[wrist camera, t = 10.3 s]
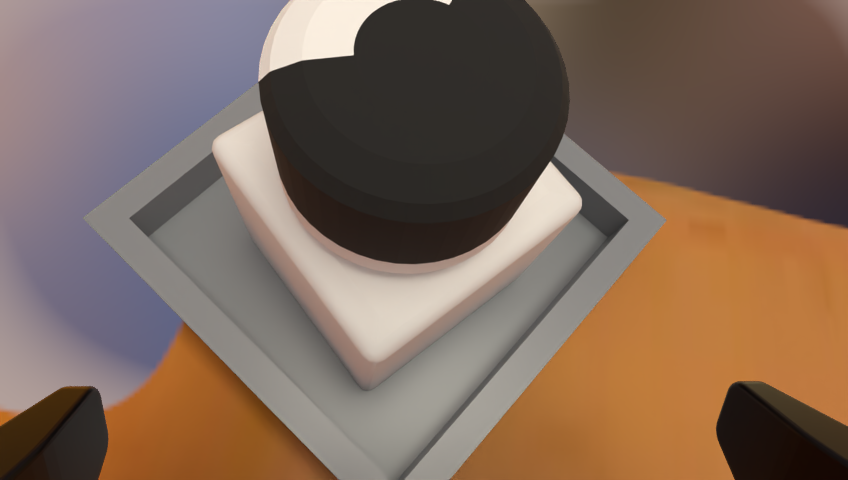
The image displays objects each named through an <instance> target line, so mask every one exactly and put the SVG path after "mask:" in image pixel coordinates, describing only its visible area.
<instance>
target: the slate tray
mask: <svg viewBox="0 0 848 480" xmlns="http://www.w3.org/2000/svg"><path fill="white" fill-rule="evenodd" d="M261 111H263V109H262V105H261V102H260V92H259V83H257V84H255V85H254V86H253V87H252V88H250V89H249V90H248V91H246V92H245V93H244V94H242V95H241V96H240V97H238V98H237V99H236V100H235V101H233V102H232V103H231V104H229V105H228V106H227V107H226V108H224V109H223V110H222V111H220V112H219V113H218V114H217V115H215V116H214V117H213V118H211V119H210V120H209V121H208V122H206V123H205V124H204V125H202V126H201V127H200V128H198V129H197V130H196V131H195V132H193V133H192V134H191V135H190V136H188V137H187V138H186V139H184V140H183V141H182V142H180V143H179V144H178V145H176V146H175V147H174V148H173V149H171V150H170V151H169V152H168V153H166V154H165V155H164V156H162V157H161V158H160V159H158V160H157V161H156V162H155V163H153V164H152V165H151V166H149V167H148V168H147V169H145V170H144V171H143V172H142V173H140V174H139V175H138V176H136V177H135V178H134V179H133V180H131V181H130V182H129V183H127V184H126V185H125V186H123V187H122V188H121V189H120V190H118V191H117V192H116V193H114V194H113V195H112V196H110V197H109V198H108V199H107V200H105V201H104V202H103V203H102V204H100V205H99V206H98V207H96V208H95V209H94V210H92V211H91V212H90V213H88V214H87V215H86V216H85V217H83V219H84V220H85V221H86V222H87V223H88V224H89V225H90V226H91V227H92V228H93V229H94V230H95V231H96V232H97V233H98V234H99V235H100V236H101V237H102V238H103V239H104V240H105V241H106V242H107V243H108V244H109V245H110V246H111V247H112V248H113V249H114V250H115V251H116V252H117V253H118V254H119V255H120V257H122V258H123V260H125V262H127V264H128V265H129V266H130V267H131V268H132V269H133V270H134V271H135V272H136V273H137V274H138V275H139V276H140V277H141V278H142V279H143V280H144V281H145V282H146V283H147V284H148V285H149V286H150V287H151V288H152V289H153V290H154V291H155V292H156V293H157V294H158V295H159V296H160V297H161V298H162V299H163V300H164V301H165V302H166V304H167V305H168V306H169V307H170V308H172V310H173V311H174V312H175V313H176V314H177V315H178V316H179V317H180V318H181V319H182V320H183V321H184V322H185V323H186V324H187V325H188V326H189V327H190V328H191V329H192V330H193V331H194V332H195V333H196V334H197V335H198V336H199V337H200V338H201V339H202V340H203V341H204V342H205V343H206V344H207V345H208V346H209V347H210V348H211V350H212V351H213V352H214V353H215V354H216V355H217V356H218V357H219V358H220V359H221V360H222V361H223V362H224V363H225V364H226V365H227V366H228V367H229V368H230V369H231V370H232V371H233V372H234V373H235V374H236V375H237V376H238V377H239V378H240V379H241V380H242V381H243V382H244V383H245V384H246V385H247V386H248V387H249V388H250V389H251V390H252V391H253V392H254V393H255V394H256V395H257V397H258V398H259V399H260V400H261V401H262V402H263V403H264V404H265V405H266V406H267V407H268V408H269V409H270V410H271V411H272V412H273V413H274V414H275V415H276V416H277V417H278V418H279V419H280V420H281V421H282V422H283V423H284V424H285V425H286V426H287V427H288V428H289V429H290V430H291V431H292V432H293V433H294V434H295V435H296V436H297V437H298V438H299V439H300V440H301V441H302V442H303V444H304V445H305V446H306V447H307V448H308V449H309V450H310V451H311V452H312V453H313V454H314V455H315V456H316V457H317V458H318V459H319V460H320V461H321V462H322V463H323V464H324V465H325V466H326V467H327V468H328V469H329V470H330V471H331V472H332V473H333V474H334V475H335V476H336V477H337V478H338V479H339V480H450V479H451V477H452V476H453V475H454V474H455V473H456V471H457V470H458V469H459V468H460V467H461V465H462V464H463V463H464V462H465V461H466V459H467V458H468V457H469V456H470V455H471V453H472V452H473V451H474V450H475V449H476V448H477V446H478V445H479V444H480V443H481V442H482V440H483V439H484V438H485V437H486V436H487V434H488V433H489V432H490V431H491V430H492V428H493V427H494V426H495V425H496V424H497V422H498V421H499V420H500V419H501V418H502V416H503V415H504V414H505V413H506V412H507V410H508V409H509V408H510V407H511V406H512V404H513V403H514V402H515V401H516V400H517V398H518V397H519V396H520V395H521V394H522V393H523V391H524V390H525V389H526V388H527V387H528V385H529V384H530V383H531V382H532V381H533V379H534V378H535V377H536V376H537V375H538V373H539V372H540V371H541V370H542V369H543V367H544V366H545V365H546V364H547V363H548V361H549V360H550V359H551V358H552V357H553V355H554V354H555V353H556V352H557V351H558V349H559V348H560V347H561V346H562V345H563V344H564V342H565V341H566V340H567V339H568V338H569V336H570V335H571V334H572V333H573V332H574V330H575V329H576V328H577V327H578V326H579V324H580V323H581V322H582V321H583V320H584V318H585V317H586V316H587V315H588V314H589V312H590V311H591V310H592V309H593V308H594V306H595V305H596V304H597V303H598V302H599V300H600V299H601V298H602V297H603V296H604V294H605V293H606V292H607V291H608V290H609V289H610V287H611V286H612V285H613V284H614V283H615V281H616V280H617V279H618V278H619V277H620V275H621V274H622V273H623V272H624V271H625V269H626V268H627V267H628V266H629V265H630V263H631V262H632V261H633V260H634V259H635V257H636V256H637V255H638V254H639V253H640V251H641V250H642V249H643V248H644V247H645V245H646V244H647V243H648V242H649V241H650V239H651V238H652V237H653V236H654V235H655V234H656V232H657V231H658V230H659V229H660V228H661V226H662V225H663V224H664V223H665V222H666V219H665V218H664V217H662V216H661V215H660V214H659V213H658V212H656V211H655V210H654V209H653V208H652V207H650V206H649V205H648V204H647V203H646V202H644V201H643V200H642V199H641V198H640V197H639V196H637V195H636V194H635V193H634V192H633V191H631V190H630V189H629V188H628V187H627V186H625V185H624V184H623V183H622V182H621V181H620V180H618V179H617V178H616V177H615V176H614V175H612V174H611V173H610V172H609V171H608V170H606V169H605V168H604V167H603V166H602V165H601V164H599V163H598V162H597V161H596V160H595V159H593V158H592V157H591V156H590V155H588V154H587V153H586V152H585V151H584V150H582V149H581V148H580V147H579V146H578V145H577V144H576V143H574V142H573V141H572V140H571V139H569V138H568V137H567V136H566V135H565V134H563V138H562V140H561V142H560V144H559V147H558V149H557V151H556V153H555V155H554V157H553V158H552V159H551V161H550V162H551V163H552V164H553V165H554V166H555V167H556V168H557V169H558V171H559V172H560V173H561V174H562V175H563V176H564V177H565V179H566V180H567V181H568V182H569V183H570V184H571V185H572V187H573V188H574V189H575V190H576V191H577V192H578V193H579V195H580V197H581V199H582V207H581V210H580V211H579V212H578V214H577V215H576V216H575V217H574V218H573V219H572V220H571V221H570V222H569V223H568V224H567V225H566V227H565V228H564V229H563V230H562V231H561V232H560V233H559V234H558V235H557V236H556V237H555V238H554V239H553V240H552V241H551V243H550V244H549V245H548V246H547V247H546V248H545V249H544V250H543V251H542V252H541V253H540V254H539V255H538V256H537V257H536V259H535V260H534V261H533V262H532V263H531V264H530V265H529V266H528V267H527V268H526V269H525V270H524V271H523V272H522V273H521V275H520V276H519V277H518V278H517V279H516V280H514V281H513V282H512V283H510V284H509V285H508V286H506V287H505V288H504V289H503V290H501V291H500V292H499V293H497V294H496V295H495V296H494V297H492V298H491V299H490V300H488V301H487V302H486V303H484V304H483V305H482V306H481V307H479V308H478V309H477V310H475V311H474V312H473V313H471V314H470V315H469V316H468V317H466V318H465V319H464V320H462V321H461V322H460V323H458V324H457V325H456V326H455V327H453V328H452V329H451V330H449V331H448V332H447V333H445V334H444V335H443V336H442V337H440V338H439V339H438V340H436V341H435V342H434V343H432V344H431V345H430V346H429V347H427V348H426V349H425V350H423V351H422V352H421V353H419V354H418V355H417V356H416V357H414V358H413V359H412V360H410V361H409V362H408V363H407V364H405V365H404V366H403V367H401V368H400V369H399V370H397V371H396V372H395V373H394V374H392V375H391V376H390V377H388V378H387V379H386V380H384V381H383V382H382V383H381V384H379V385H378V386H377V387H375V388H374V389H371V390H363V389H362V388H361V387H359V386H358V384H357V383H356V382H355V380H354V379H353V377H352V376H351V375H350V373H349V372H348V371H347V369H346V368H345V366H344V365H343V364H342V362H341V361H340V360H339V358H338V357H337V355H336V354H335V353H334V351H333V350H332V349H331V347H330V346H329V344H328V343H327V342H326V340H325V339H324V338H323V336H322V335H321V333H320V332H319V331H318V329H317V328H316V327H315V325H314V324H313V322H312V321H311V320H310V318H309V317H308V316H307V314H306V313H305V311H304V310H303V309H302V307H301V306H300V304H299V303H298V302H297V300H296V299H295V298H294V296H293V295H292V293H291V292H290V291H289V289H288V288H287V287H286V285H285V284H284V282H283V281H282V280H281V278H280V277H279V276H278V274H277V273H276V271H275V270H274V269H273V267H272V266H271V265H270V263H269V262H268V260H267V259H266V258H265V256H264V255H263V254H262V252H261V251H260V249H259V248H258V247H257V245H256V244H255V243H254V241H253V240H252V238H251V236H250V234H249V232H248V230H247V227H246V225H245V223H244V221H243V219H242V216H241V214H240V212H239V210H238V208H237V205H236V203H235V201H234V199H233V197H232V195H231V192H230V190H229V188H228V186H227V184H226V181H225V179H224V177H223V175H222V173H221V170H220V168H219V166H218V164H217V162H216V159H215V157H214V155H213V152H212V145H213V141H214V140H215V139H216V138H217V137H218V136H219V135H221V134H222V133H224V132H226V131H228V130H229V129H231V128H233V127H235V126H236V125H238V124H240V123H242V122H243V121H245V120H247V119H249V118H250V117H252V116H254V115H256V114H257V113H259V112H261Z"/></svg>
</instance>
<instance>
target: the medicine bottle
mask: <svg viewBox="0 0 848 480" xmlns="http://www.w3.org/2000/svg"><path fill="white" fill-rule="evenodd" d="M258 83H259V92H260V102H261V105H262V109H263V111H261V112H259V113H257V114H256V115H254V116H252V117H250V118H249V119H247V120H245V121H243V122H242V123H240V124H238V125H236V126H235V127H233V128H231V129H229V130H228V131H226V132H224V133H222V134H221V135H219V136H218V137H217V138H216V139H215V140H214V141H213V145H212V152H213V155H214V157H215V159H216V162H217V164H218V166H219V168H220V170H221V173H222V175H223V177H224V179H225V181H226V184H227V186H228V188H229V190H230V192H231V195H232V197H233V199H234V201H235V203H236V205H237V208H238V210H239V212H240V214H241V216H242V219H243V221H244V223H245V225H246V227H247V230H248V232H249V234H250V236H251V238H252V240H253V241H254V243H255V244H256V245H257V247H258V248H259V249H260V251H261V252H262V254H263V255H264V256H265V258H266V259H267V260H268V262H269V263H270V265H271V266H272V267H273V269H274V270H275V271H276V273H277V274H278V276H279V277H280V278H281V280H282V281H283V282H284V284H285V285H286V287H287V288H288V289H289V291H290V292H291V293H292V295H293V296H294V298H295V299H296V300H297V302H298V303H299V304H300V306H301V307H302V309H303V310H304V311H305V313H306V314H307V316H308V317H309V318H310V320H311V321H312V322H313V324H314V325H315V327H316V328H317V329H318V331H319V332H320V333H321V335H322V336H323V338H324V339H325V340H326V342H327V343H328V344H329V346H330V347H331V349H332V350H333V351H334V353H335V354H336V355H337V357H338V358H339V360H340V361H341V362H342V364H343V365H344V366H345V368H346V369H347V371H348V372H349V373H350V375H351V376H352V377H353V379H354V380H355V382H356V383H357V384H358V386H359V387H361V388H362V389H363V390H371V389H374V388H375V387H377V386H378V385H379V384H381V383H382V382H383V381H384V380H386V379H387V378H388V377H390V376H391V375H392V374H394V373H395V372H396V371H397V370H399V369H400V368H401V367H403V366H404V365H405V364H407V363H408V362H409V361H410V360H412V359H413V358H414V357H416V356H417V355H418V354H419V353H421V352H422V351H423V350H425V349H426V348H427V347H429V346H430V345H431V344H432V343H434V342H435V341H436V340H438V339H439V338H440V337H442V336H443V335H444V334H445V333H447V332H448V331H449V330H451V329H452V328H453V327H455V326H456V325H457V324H458V323H460V322H461V321H462V320H464V319H465V318H466V317H468V316H469V315H470V314H471V313H473V312H474V311H475V310H477V309H478V308H479V307H481V306H482V305H483V304H484V303H486V302H487V301H488V300H490V299H491V298H492V297H494V296H495V295H496V294H497V293H499V292H500V291H501V290H503V289H504V288H505V287H506V286H508V285H509V284H510V283H512V282H513V281H514V280H516V279H517V278H518V277H519V276H520V275H521V273H522V272H523V271H524V270H525V269H526V268H527V267H528V266H529V265H530V264H531V263H532V262H533V261H534V260H535V259H536V257H537V256H538V255H539V254H540V253H541V252H542V251H543V250H544V249H545V248H546V247H547V246H548V245H549V244H550V243H551V241H552V240H553V239H554V238H555V237H556V236H557V235H558V234H559V233H560V232H561V231H562V230H563V229H564V228H565V227H566V225H567V224H568V223H569V222H570V221H571V220H572V219H573V218H574V217H575V216H576V215H577V214H578V212H579V211H580V210H581V207H582V199H581V197H580V195H579V193H578V192H577V191H576V190H575V189H574V188H573V187H572V185H571V184H570V183H569V182H568V181H567V180H566V179H565V177H564V176H563V175H562V174H561V173H560V172H559V171H558V169H557V168H556V167H555V166H554V165H553V164H552V163H551V162H550V161H551V159H552V158H553V157H554V155H555V153H556V151H557V149H558V147H559V144H560V142H561V140H562V138H563V134H564V131H565V127H566V123H567V120H568V110H569V102H570V100H569V83H568V78H567V73H566V68H565V64H564V61H563V59H562V56H561V53H560V51H559V48H558V46H557V44H556V42H555V40H554V38H553V36H552V35H551V33H550V31H549V30H548V28H547V27H546V25H545V24H544V23H543V21H542V20H541V18H540V17H539V16H538V15H537V13H536V12H535V11H534V10H533V9H532V8H531V7H530V6H529V4H527V2H526V1H525V0H290V1H289V2H288V3H287V5H286V6H285V7H284V8H283V9H282V11H281V12H280V14H279V15H278V17H277V18H276V20H275V21H274V23H273V25H272V26H271V28H270V31H269V33H268V36H267V38H266V40H265V43H264V46H263V50H262V55H261V59H260V64H259V80H258Z"/></svg>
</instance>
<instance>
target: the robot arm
mask: <svg viewBox="0 0 848 480" xmlns="http://www.w3.org/2000/svg"><path fill="white" fill-rule="evenodd" d="M716 433H717V438H718V441H719V444H720V446H721V449H722V451H723V453H724V456H725V458H726V460H727V463H728V465H729V467H730V470H731V472H732V474H733V477H734V479H735V480H848V426H846V425H844V424H842V423H840V422H838V421H836V420H834V419H833V418H831V417H829V416H827V415H825V414H823V413H821V412H819V411H817V410H815V409H814V408H812V407H810V406H808V405H806V404H804V403H802V402H800V401H798V400H796V399H794V398H793V397H791V396H789V395H787V394H785V393H783V392H781V391H779V390H777V389H775V388H774V387H772V386H770V385H768V384H766V383H764V382H760V381H738V382H735V383H733V384H732V385H731V386H730V387H729V389H728V392H727V395H726V398H725V401H724V403H723V406H722V409H721V412H720V415H719V418H718V421H717V426H716ZM107 447H108V430H107V425H106V420H105V415H104V410H103V405H102V400H101V396H100V393H99V391H98V389H96V388H95V387H92V386H69V387H63V388H61V389H59V390H57V391H55V392H54V393H52V394H51V395H49V396H47V397H46V398H44V399H43V400H41V401H39V402H38V403H36V404H35V405H33V406H32V407H30V408H28V409H27V410H25V411H24V412H22V413H20V414H19V415H17V416H16V417H14V418H13V419H11V420H9V421H8V422H6V423H5V424H3V425H2V426H0V480H98V478H99V475H100V472H101V468H102V465H103V462H104V459H105V456H106V452H107Z"/></svg>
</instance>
